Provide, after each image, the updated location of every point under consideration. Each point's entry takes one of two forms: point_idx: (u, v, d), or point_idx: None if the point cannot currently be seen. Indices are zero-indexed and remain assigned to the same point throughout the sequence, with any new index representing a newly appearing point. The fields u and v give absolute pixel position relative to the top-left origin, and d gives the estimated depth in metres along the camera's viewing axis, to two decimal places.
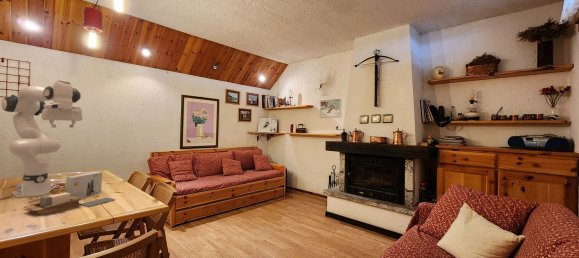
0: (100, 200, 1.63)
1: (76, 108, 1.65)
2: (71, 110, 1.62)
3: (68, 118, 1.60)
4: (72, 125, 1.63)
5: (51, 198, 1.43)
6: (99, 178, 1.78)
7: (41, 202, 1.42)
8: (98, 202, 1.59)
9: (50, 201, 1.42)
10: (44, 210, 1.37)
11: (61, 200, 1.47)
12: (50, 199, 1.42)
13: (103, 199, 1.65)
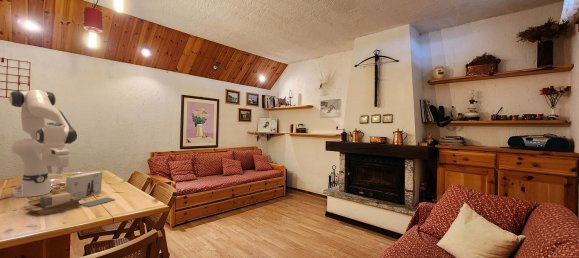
0: (100, 200, 1.63)
1: None
2: None
3: None
4: (51, 170, 1.48)
5: (51, 198, 1.43)
6: (99, 178, 1.78)
7: (41, 202, 1.42)
8: (98, 202, 1.59)
9: (50, 201, 1.42)
10: (44, 210, 1.37)
11: (61, 200, 1.47)
12: (50, 199, 1.42)
13: (103, 199, 1.65)
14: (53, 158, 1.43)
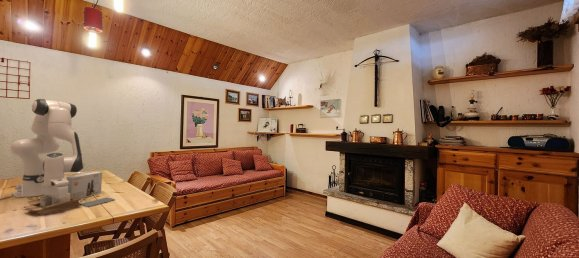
0: (100, 200, 1.63)
1: None
2: None
3: None
4: None
5: (51, 198, 1.43)
6: (99, 178, 1.78)
7: (41, 202, 1.42)
8: (98, 202, 1.59)
9: (50, 201, 1.42)
10: (44, 210, 1.37)
11: (61, 200, 1.47)
12: (50, 199, 1.42)
13: (103, 199, 1.65)
14: (52, 189, 1.44)
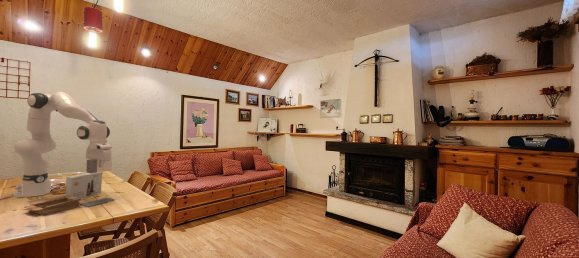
0: (100, 200, 1.63)
1: None
2: None
3: None
4: None
5: (96, 161, 1.56)
6: (99, 178, 1.78)
7: (87, 164, 1.55)
8: (98, 202, 1.59)
9: (95, 163, 1.56)
10: (44, 210, 1.37)
11: (104, 163, 1.61)
12: (95, 161, 1.56)
13: (103, 199, 1.65)
14: (97, 153, 1.57)
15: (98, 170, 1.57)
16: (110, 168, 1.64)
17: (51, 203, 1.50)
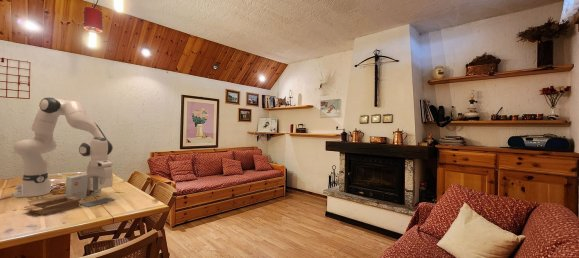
0: (100, 200, 1.63)
1: None
2: None
3: None
4: None
5: (97, 178, 1.57)
6: None
7: (89, 182, 1.56)
8: (98, 202, 1.59)
9: (96, 180, 1.57)
10: (44, 210, 1.37)
11: (105, 180, 1.62)
12: (96, 179, 1.57)
13: (103, 199, 1.65)
14: (98, 170, 1.58)
15: (99, 187, 1.58)
16: (111, 184, 1.65)
17: (51, 203, 1.50)
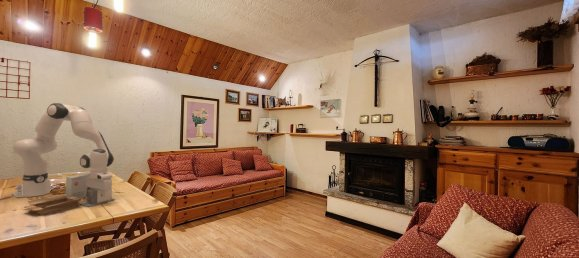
0: None
1: None
2: None
3: None
4: None
5: (97, 191, 1.57)
6: None
7: (88, 195, 1.56)
8: None
9: (95, 194, 1.57)
10: (44, 210, 1.37)
11: None
12: (96, 192, 1.57)
13: None
14: (98, 182, 1.58)
15: (98, 200, 1.58)
16: (110, 197, 1.65)
17: (51, 203, 1.50)
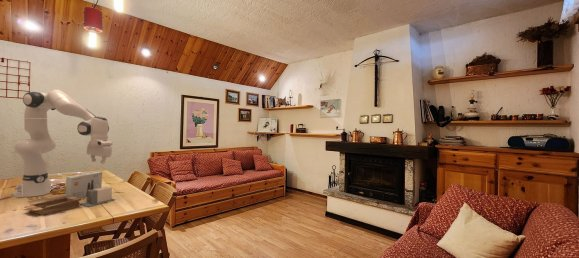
0: None
1: None
2: None
3: None
4: (95, 159, 1.65)
5: (97, 191, 1.57)
6: (99, 178, 1.78)
7: (88, 195, 1.56)
8: None
9: (95, 194, 1.57)
10: (44, 210, 1.37)
11: (104, 193, 1.62)
12: (96, 192, 1.57)
13: None
14: (98, 148, 1.60)
15: (98, 200, 1.58)
16: (110, 197, 1.65)
17: (51, 203, 1.50)
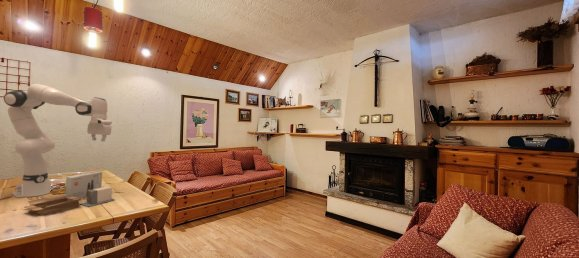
0: None
1: None
2: None
3: None
4: (95, 138, 1.73)
5: (97, 191, 1.57)
6: (99, 178, 1.78)
7: (88, 195, 1.56)
8: None
9: (95, 194, 1.57)
10: (44, 210, 1.37)
11: (104, 193, 1.62)
12: (96, 192, 1.57)
13: None
14: (98, 127, 1.68)
15: (98, 200, 1.58)
16: (110, 197, 1.65)
17: (51, 203, 1.50)
